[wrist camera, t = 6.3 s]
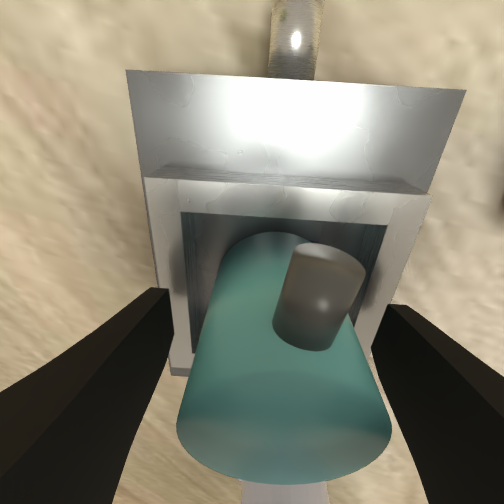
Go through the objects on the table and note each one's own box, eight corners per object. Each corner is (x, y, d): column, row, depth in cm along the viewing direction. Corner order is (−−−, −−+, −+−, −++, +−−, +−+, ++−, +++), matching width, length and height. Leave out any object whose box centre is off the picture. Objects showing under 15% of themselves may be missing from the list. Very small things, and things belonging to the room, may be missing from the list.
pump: (311, 331, 13) (345, 494, 7) (211, 314, 12) (172, 471, 7) (364, 202, 9) (493, 328, 4) (231, 176, 9) (187, 275, 4)
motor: (336, 339, 17) (360, 417, 13) (187, 328, 18) (161, 402, 13) (431, 17, 10) (572, -58, 5) (157, 2, 10) (69, -85, 5)
